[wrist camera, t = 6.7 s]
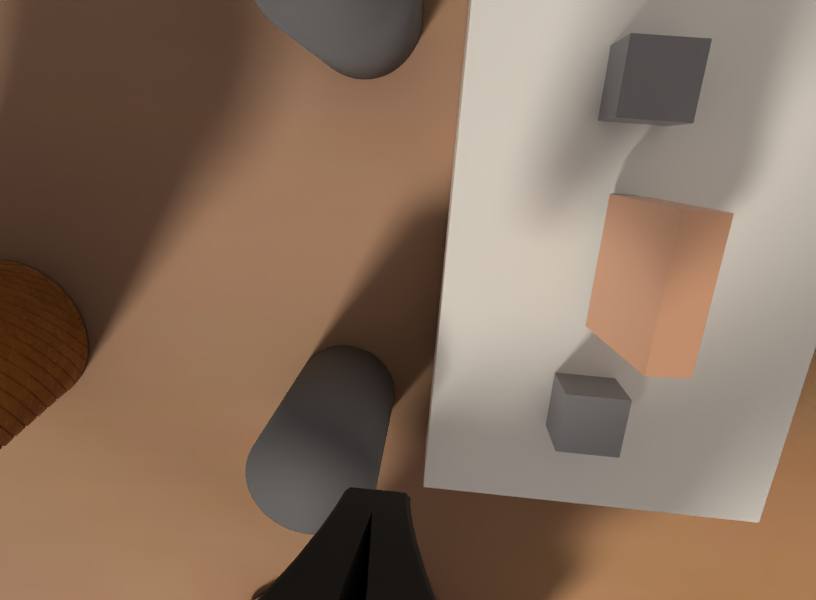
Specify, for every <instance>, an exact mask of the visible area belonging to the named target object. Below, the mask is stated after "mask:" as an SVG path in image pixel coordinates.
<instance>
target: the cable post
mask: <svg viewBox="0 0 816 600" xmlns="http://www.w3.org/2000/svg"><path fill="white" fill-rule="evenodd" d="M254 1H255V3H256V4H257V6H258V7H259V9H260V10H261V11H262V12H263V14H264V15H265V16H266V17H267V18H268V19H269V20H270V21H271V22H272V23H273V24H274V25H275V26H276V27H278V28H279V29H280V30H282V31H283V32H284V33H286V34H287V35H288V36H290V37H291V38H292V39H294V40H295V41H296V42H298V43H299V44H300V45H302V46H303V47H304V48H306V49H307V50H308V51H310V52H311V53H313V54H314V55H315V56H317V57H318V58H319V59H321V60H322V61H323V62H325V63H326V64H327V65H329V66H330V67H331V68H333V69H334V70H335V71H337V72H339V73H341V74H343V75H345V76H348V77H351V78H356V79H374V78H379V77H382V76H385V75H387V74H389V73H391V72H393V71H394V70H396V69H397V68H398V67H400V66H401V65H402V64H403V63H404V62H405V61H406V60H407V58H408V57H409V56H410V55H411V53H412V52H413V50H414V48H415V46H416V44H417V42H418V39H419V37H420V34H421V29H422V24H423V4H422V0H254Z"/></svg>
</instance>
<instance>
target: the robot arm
mask: <svg viewBox="0 0 816 600" xmlns="http://www.w3.org/2000/svg"><path fill="white" fill-rule="evenodd" d="M255 600H436V599H435V596H434V593H433V591H432V588H431V585H430V583H429V580H428V577H427V574H426V571H425V568H424V565H423V561H422V558H421V555H420V552H419V548H418V544H417V541H416V537H415V532H414V528H413V523H412V517H411V508H410V497H409V496H408V495H407V494H406V493H401V492H392V491H382V490H373V489H364V488H354V487H350V488H348V489H347V490H345V491H344V493H343V495H342V497H341V498H340V500H339V501H338V503H337V505H336V506H335V508H334V509H333V511H332V512H331V513H330V515H329V516H328V518H327V519H326V520H325V522H324V523H323V525H322V526H321V527H320V529H319V530H318V531H317V532H316V534H315V535H314V536H313V538H312V539H311V540H310V541H309V543H308V544H307V545H306V546H305V548H304V549H303V550H302V551H301V553H300V554H299V555H298V556H297V557H296V559H295V560H294V561H293V562H292V563H291V564H290V565H289V566H288V567H287V569H286V570H285V571H284V572H283V573H282V574H281V575H280V576H279V577H278V579H277V580H276V581H275V582H274V583H273V584H272V585H271V586H270V587H269V588H268V589H267V590H266V591H265V592H264V593H263V594H262V596H260V597H258V598H257V599H255Z"/></svg>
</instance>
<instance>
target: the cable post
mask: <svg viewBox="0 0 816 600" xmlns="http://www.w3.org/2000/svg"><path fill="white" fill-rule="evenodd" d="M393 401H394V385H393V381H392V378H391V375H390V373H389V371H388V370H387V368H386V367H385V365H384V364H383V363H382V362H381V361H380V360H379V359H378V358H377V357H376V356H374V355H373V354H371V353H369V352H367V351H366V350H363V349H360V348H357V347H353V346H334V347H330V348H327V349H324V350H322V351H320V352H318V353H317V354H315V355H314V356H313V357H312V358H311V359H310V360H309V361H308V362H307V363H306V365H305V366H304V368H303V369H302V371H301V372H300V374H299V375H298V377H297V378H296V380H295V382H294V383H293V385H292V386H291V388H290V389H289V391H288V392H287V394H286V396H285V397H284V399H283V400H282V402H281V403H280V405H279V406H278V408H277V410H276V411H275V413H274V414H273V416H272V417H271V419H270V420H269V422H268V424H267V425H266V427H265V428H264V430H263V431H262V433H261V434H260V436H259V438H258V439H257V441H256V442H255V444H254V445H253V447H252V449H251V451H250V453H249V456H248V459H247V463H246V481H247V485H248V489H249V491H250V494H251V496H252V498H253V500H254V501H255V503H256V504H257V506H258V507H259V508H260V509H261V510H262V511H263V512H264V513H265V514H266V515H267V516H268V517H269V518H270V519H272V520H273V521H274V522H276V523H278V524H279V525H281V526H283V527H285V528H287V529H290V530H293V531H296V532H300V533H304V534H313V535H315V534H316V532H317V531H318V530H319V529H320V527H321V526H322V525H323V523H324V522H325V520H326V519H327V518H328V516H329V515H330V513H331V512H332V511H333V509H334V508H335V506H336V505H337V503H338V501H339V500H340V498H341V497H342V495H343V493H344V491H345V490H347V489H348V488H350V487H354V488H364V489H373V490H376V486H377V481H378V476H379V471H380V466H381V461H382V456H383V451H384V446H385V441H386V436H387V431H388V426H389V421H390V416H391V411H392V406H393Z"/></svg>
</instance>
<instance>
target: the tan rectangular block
mask: <svg viewBox="0 0 816 600" xmlns="http://www.w3.org/2000/svg"><path fill="white" fill-rule="evenodd" d="M733 215H734V213H731V212H726V211H720V210H715V209H710V208H705V207H699V206H694V205H689V204H683V203H678V202H673V201H668V200H662V199H657V198H652V197H641V196H637V195H630V194H619V193H610V196H609V201H608V207H607V212H606V217H605V223H604V228H603V234H602V239H601V245H600V250H599V255H598V261H597V266H596V272H595V277H594V282H593V288H592V293H591V299H590V304H589V310H588V315H587V320H586V327H587V328H588V329H589V330H591V331H592V332H593V333H594V334H595V335H597V336H598V337H599V338H600V339H601V340H602V341H604V342H605V343H606V344H607V345H608V346H609V347H611V348H612V349H613V350H614V351H615V352H616V353H618V354H619V355H620V356H621V357H622V358H624V359H625V360H626V361H627V362H628V363H629V364H631V365H632V366H633V367H634V368H635V369H636V370H638V371H639V372H640V373H641V374H642V375H643V376H645V377H667V378H691V379H692V376H693V372H694V368H695V365H696V361H697V357H698V353H699V349H700V345H701V341H702V337H703V333H704V329H705V325H706V321H707V317H708V314H709V310H710V306H711V302H712V298H713V294H714V290H715V286H716V282H717V278H718V274H719V270H720V266H721V262H722V259H723V255H724V251H725V247H726V243H727V239H728V235H729V231H730V227H731V223H732V219H733Z"/></svg>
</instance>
